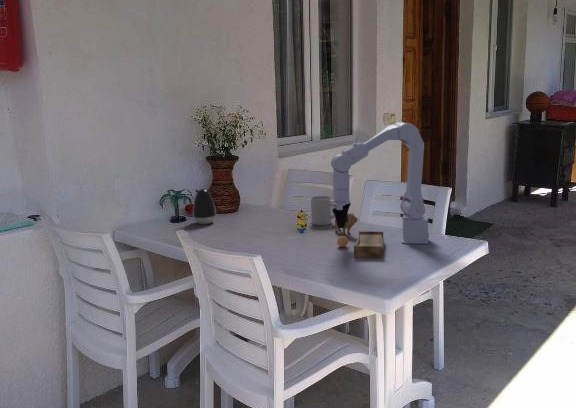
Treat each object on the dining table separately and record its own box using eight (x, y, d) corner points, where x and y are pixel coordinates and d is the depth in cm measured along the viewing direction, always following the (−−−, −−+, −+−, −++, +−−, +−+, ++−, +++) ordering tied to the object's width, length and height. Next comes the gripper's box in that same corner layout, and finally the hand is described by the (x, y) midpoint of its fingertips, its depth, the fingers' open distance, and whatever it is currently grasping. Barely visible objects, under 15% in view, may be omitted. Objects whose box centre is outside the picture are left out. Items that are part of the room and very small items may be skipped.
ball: (348, 245, 217) (348, 234, 216) (347, 248, 213) (347, 237, 213) (337, 245, 218) (337, 234, 217) (336, 248, 214) (336, 237, 213)
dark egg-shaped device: (207, 219, 268) (205, 186, 265) (221, 222, 260) (219, 188, 257) (188, 223, 261) (186, 189, 258) (202, 227, 254) (199, 192, 250)
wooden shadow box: (384, 242, 219) (384, 231, 218) (382, 257, 201) (382, 245, 200) (358, 242, 221) (358, 231, 220) (354, 257, 203) (353, 245, 202)
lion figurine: (360, 235, 230) (359, 213, 228) (349, 238, 227) (349, 215, 225) (336, 228, 242) (336, 207, 240) (326, 230, 239) (325, 209, 237)
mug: (307, 224, 252) (306, 198, 249) (318, 219, 258) (318, 195, 256) (331, 227, 245) (330, 201, 242) (342, 222, 251) (341, 197, 249)
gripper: (332, 184, 219) (333, 220, 222) (327, 192, 205) (328, 230, 208) (351, 184, 218) (352, 220, 220) (348, 192, 204) (348, 230, 207)
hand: (342, 225), depth 214 cm, fingers open, 7 cm apart
